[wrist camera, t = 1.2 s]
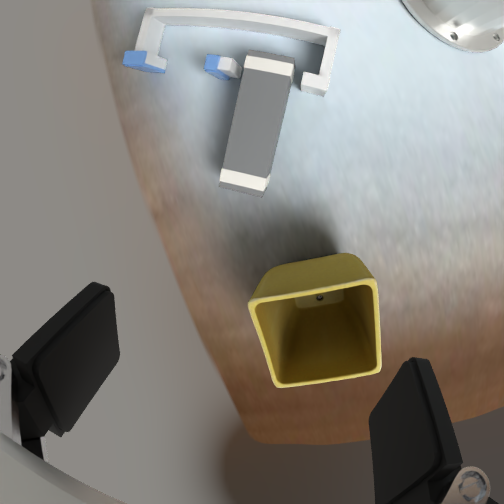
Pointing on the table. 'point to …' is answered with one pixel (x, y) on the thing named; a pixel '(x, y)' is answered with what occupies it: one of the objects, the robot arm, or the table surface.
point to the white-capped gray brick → (257, 122)
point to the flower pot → (318, 320)
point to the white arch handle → (268, 24)
